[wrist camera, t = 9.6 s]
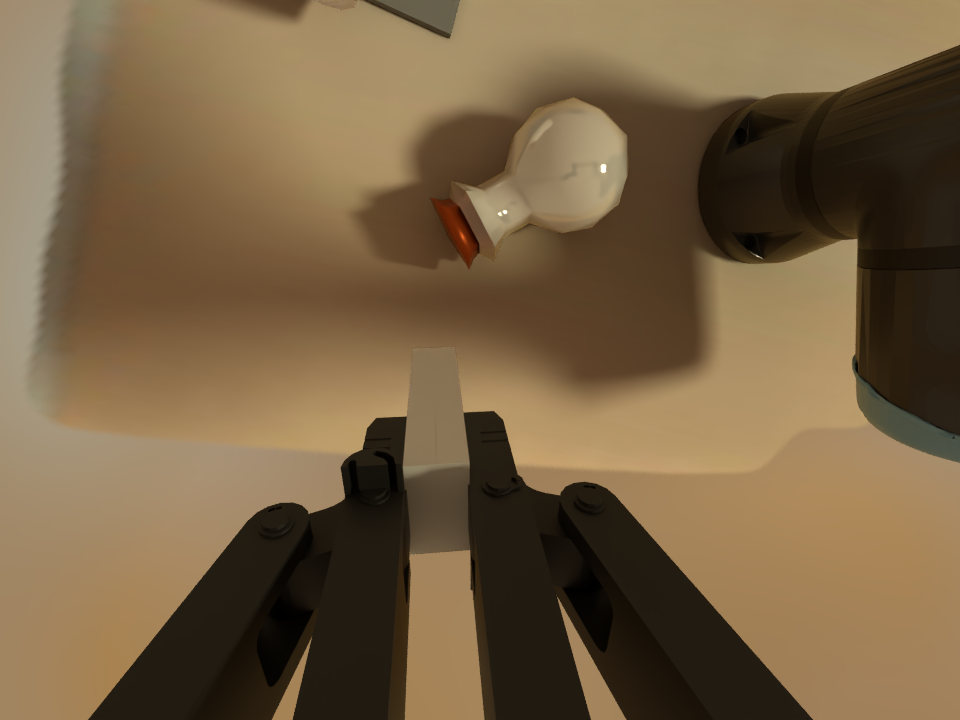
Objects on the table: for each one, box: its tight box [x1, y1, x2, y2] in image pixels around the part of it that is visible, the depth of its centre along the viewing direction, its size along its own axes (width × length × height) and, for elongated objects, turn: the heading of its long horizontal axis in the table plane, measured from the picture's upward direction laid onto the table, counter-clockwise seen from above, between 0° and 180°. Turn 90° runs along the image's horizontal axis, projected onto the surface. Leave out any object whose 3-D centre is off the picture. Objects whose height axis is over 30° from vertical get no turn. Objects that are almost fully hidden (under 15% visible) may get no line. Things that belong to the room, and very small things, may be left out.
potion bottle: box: [430, 97, 629, 269], centre depth 35 cm, size 9×10×15 cm
